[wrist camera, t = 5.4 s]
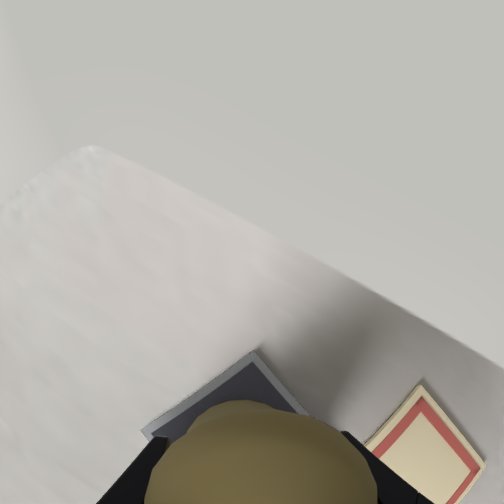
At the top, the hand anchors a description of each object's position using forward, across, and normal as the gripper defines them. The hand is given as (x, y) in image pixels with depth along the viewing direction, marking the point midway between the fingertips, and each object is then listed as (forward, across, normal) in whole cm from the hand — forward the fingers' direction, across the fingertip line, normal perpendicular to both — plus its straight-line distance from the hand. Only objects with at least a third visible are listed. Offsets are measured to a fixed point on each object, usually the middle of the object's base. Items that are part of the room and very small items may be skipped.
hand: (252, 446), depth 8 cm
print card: (+2, -10, +10) cm, 15 cm away
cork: (+4, 0, +6) cm, 7 cm away
